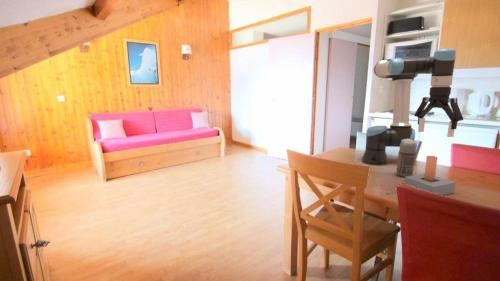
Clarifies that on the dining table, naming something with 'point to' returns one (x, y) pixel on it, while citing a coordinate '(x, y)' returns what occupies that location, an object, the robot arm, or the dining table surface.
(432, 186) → the socket block
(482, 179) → the dining table surface
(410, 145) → the spray can
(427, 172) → the dowel
